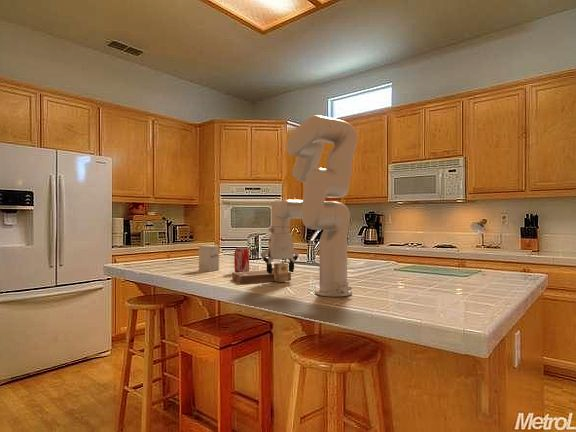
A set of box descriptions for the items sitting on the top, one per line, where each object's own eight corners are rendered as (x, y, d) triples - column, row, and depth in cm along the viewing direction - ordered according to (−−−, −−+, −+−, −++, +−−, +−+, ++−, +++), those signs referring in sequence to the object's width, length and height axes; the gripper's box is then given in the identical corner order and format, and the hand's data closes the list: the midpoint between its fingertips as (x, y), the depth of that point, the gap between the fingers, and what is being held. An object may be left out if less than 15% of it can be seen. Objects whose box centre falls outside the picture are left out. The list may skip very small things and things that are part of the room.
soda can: (231, 273, 176) (231, 248, 176) (238, 271, 182) (238, 247, 182) (245, 274, 173) (245, 248, 174) (251, 272, 180) (251, 247, 180)
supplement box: (210, 271, 182) (210, 246, 182) (198, 271, 185) (198, 245, 185) (219, 270, 189) (219, 245, 189) (207, 269, 192) (207, 244, 192)
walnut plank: (290, 279, 157) (290, 272, 157) (241, 283, 147) (241, 276, 147) (279, 275, 168) (279, 269, 168) (232, 279, 158) (232, 272, 158)
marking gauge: (289, 281, 149) (289, 264, 150) (280, 282, 148) (280, 264, 148) (275, 276, 162) (275, 260, 162) (267, 277, 160) (267, 261, 160)
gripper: (264, 231, 145) (264, 275, 145) (303, 231, 152) (303, 272, 152) (257, 231, 152) (257, 272, 152) (295, 230, 159) (295, 270, 159)
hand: (280, 272), depth 152 cm, fingers open, 9 cm apart
